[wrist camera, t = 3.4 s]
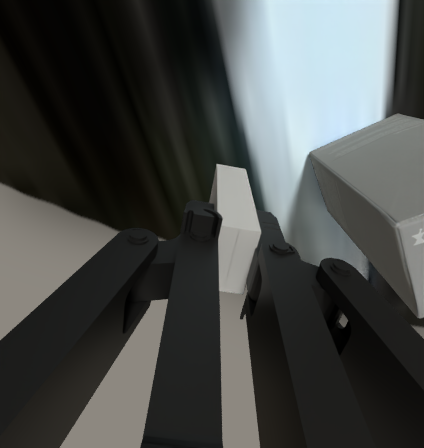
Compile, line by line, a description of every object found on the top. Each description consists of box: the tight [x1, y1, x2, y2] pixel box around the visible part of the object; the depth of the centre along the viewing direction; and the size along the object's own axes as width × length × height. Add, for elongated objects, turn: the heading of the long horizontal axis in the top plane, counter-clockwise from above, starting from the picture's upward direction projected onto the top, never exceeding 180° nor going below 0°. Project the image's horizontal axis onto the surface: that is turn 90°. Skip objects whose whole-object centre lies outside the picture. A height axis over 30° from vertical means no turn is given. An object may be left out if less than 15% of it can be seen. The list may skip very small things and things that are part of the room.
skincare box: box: [309, 114, 424, 318], centre depth 23 cm, size 8×7×16 cm
